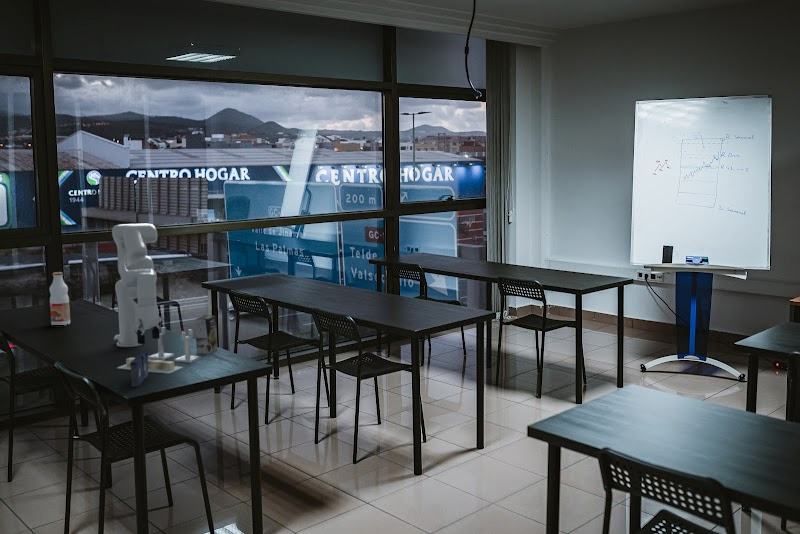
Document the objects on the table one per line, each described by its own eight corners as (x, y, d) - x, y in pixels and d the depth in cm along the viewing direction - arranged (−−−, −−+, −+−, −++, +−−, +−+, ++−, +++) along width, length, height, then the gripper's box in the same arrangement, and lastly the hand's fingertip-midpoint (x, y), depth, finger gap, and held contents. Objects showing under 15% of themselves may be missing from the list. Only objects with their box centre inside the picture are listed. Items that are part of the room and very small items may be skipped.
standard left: (148, 358, 353) (146, 329, 352) (159, 354, 361) (157, 326, 359) (163, 360, 351) (161, 331, 349) (174, 356, 358) (173, 327, 356)
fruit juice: (72, 324, 426) (69, 272, 423) (54, 327, 421) (51, 274, 417) (67, 321, 434) (64, 270, 430) (49, 324, 428) (45, 272, 424)
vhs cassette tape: (142, 374, 328) (141, 351, 326) (150, 374, 328) (148, 351, 326) (130, 387, 309) (128, 362, 308) (137, 387, 310) (136, 362, 308)
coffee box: (209, 354, 361) (208, 319, 359) (196, 353, 362) (194, 318, 360) (217, 349, 370) (216, 315, 368) (204, 349, 371) (203, 314, 369)
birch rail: (126, 365, 340) (126, 359, 339) (131, 364, 343) (130, 357, 342) (170, 370, 332) (169, 363, 332) (174, 368, 335) (174, 361, 335)
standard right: (174, 361, 349) (173, 332, 347) (185, 357, 356) (184, 328, 354) (190, 362, 346) (189, 333, 344) (201, 358, 353) (199, 329, 352)
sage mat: (117, 368, 337) (117, 367, 337) (132, 362, 347) (132, 361, 347) (169, 373, 329) (169, 372, 329) (183, 367, 338) (183, 366, 338)
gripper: (152, 296, 343) (154, 335, 346) (126, 304, 327) (127, 345, 330) (167, 298, 341) (168, 337, 343) (141, 306, 325) (143, 347, 327)
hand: (148, 341), depth 337 cm, fingers open, 9 cm apart
